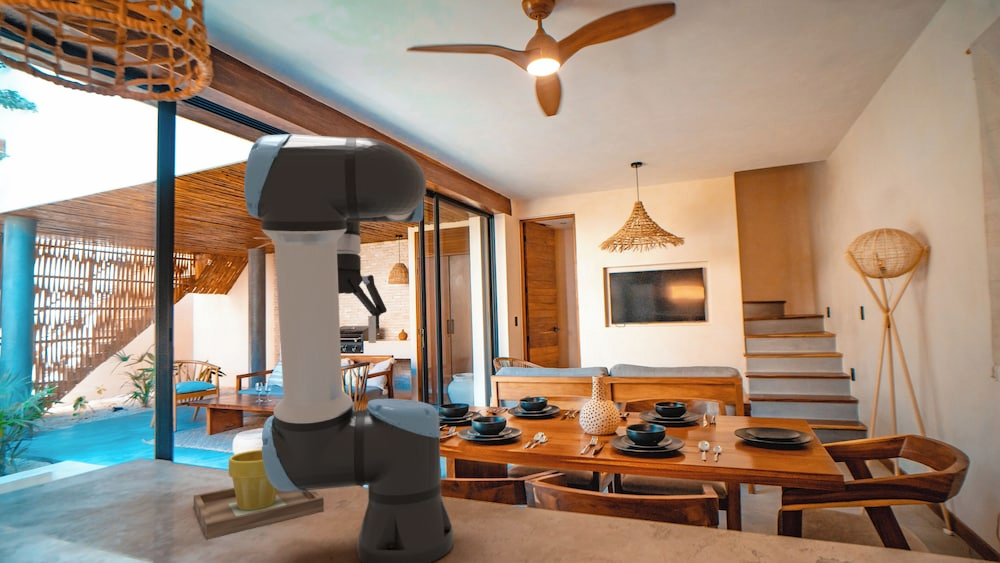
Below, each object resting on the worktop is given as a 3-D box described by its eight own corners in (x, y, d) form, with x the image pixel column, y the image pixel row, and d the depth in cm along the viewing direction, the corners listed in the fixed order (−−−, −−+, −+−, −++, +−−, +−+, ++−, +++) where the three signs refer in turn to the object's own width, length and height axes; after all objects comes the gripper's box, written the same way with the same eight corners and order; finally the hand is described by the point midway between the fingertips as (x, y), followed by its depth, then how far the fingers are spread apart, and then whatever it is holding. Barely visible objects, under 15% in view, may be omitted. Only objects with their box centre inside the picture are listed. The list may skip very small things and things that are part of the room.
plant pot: (294, 495, 107) (294, 447, 107) (268, 514, 96) (268, 461, 97) (247, 495, 107) (248, 448, 108) (216, 514, 97) (216, 461, 98)
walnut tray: (323, 510, 100) (323, 498, 100) (206, 539, 88) (206, 524, 88) (295, 486, 116) (295, 475, 116) (193, 507, 104) (193, 495, 104)
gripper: (386, 258, 131) (387, 341, 130) (284, 253, 116) (284, 346, 115) (399, 255, 125) (400, 341, 124) (294, 249, 110) (293, 347, 109)
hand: (344, 344), depth 119 cm, fingers open, 13 cm apart
